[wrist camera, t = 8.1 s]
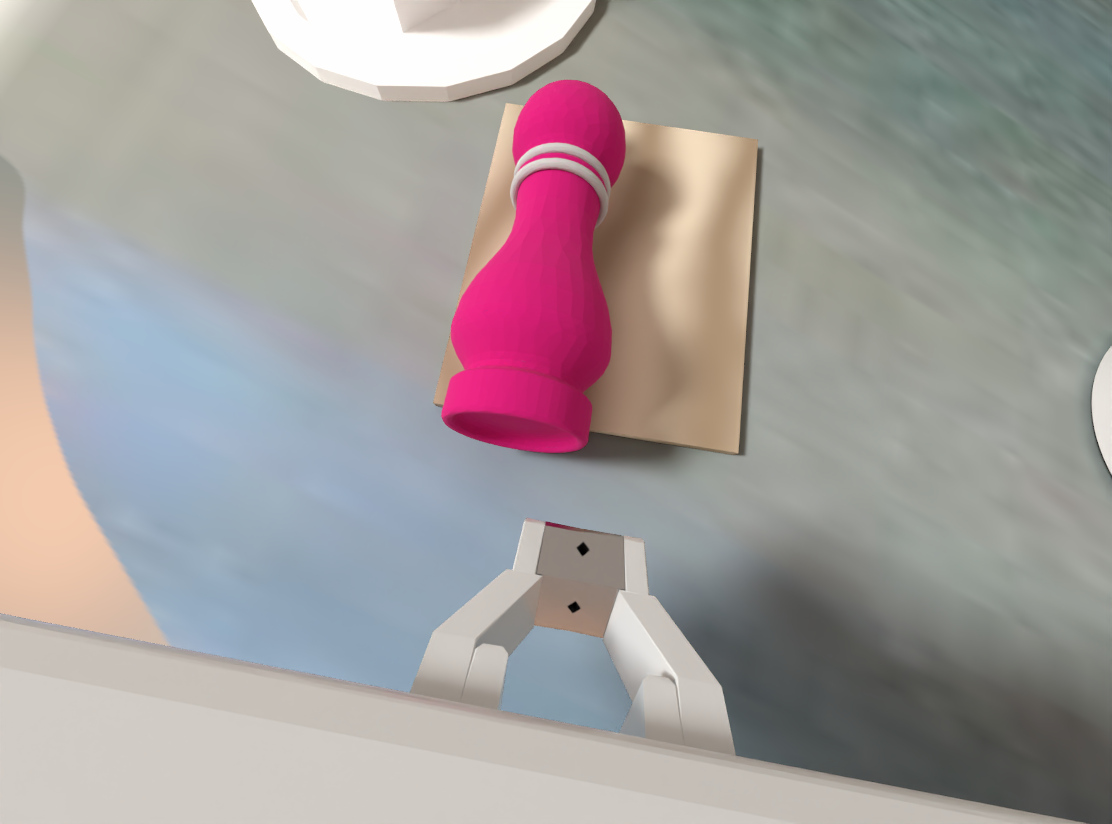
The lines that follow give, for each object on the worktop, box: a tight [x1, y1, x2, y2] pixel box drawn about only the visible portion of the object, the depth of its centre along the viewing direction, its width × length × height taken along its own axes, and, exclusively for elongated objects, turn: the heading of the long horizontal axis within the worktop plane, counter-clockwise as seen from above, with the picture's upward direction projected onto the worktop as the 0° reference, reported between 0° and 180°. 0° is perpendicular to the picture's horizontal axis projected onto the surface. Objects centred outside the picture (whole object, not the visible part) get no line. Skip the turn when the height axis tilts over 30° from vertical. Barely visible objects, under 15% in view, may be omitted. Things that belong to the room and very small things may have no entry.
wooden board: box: [433, 103, 758, 455], centre depth 25 cm, size 16×20×1 cm
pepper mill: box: [441, 80, 626, 453], centre depth 21 cm, size 7×7×20 cm
